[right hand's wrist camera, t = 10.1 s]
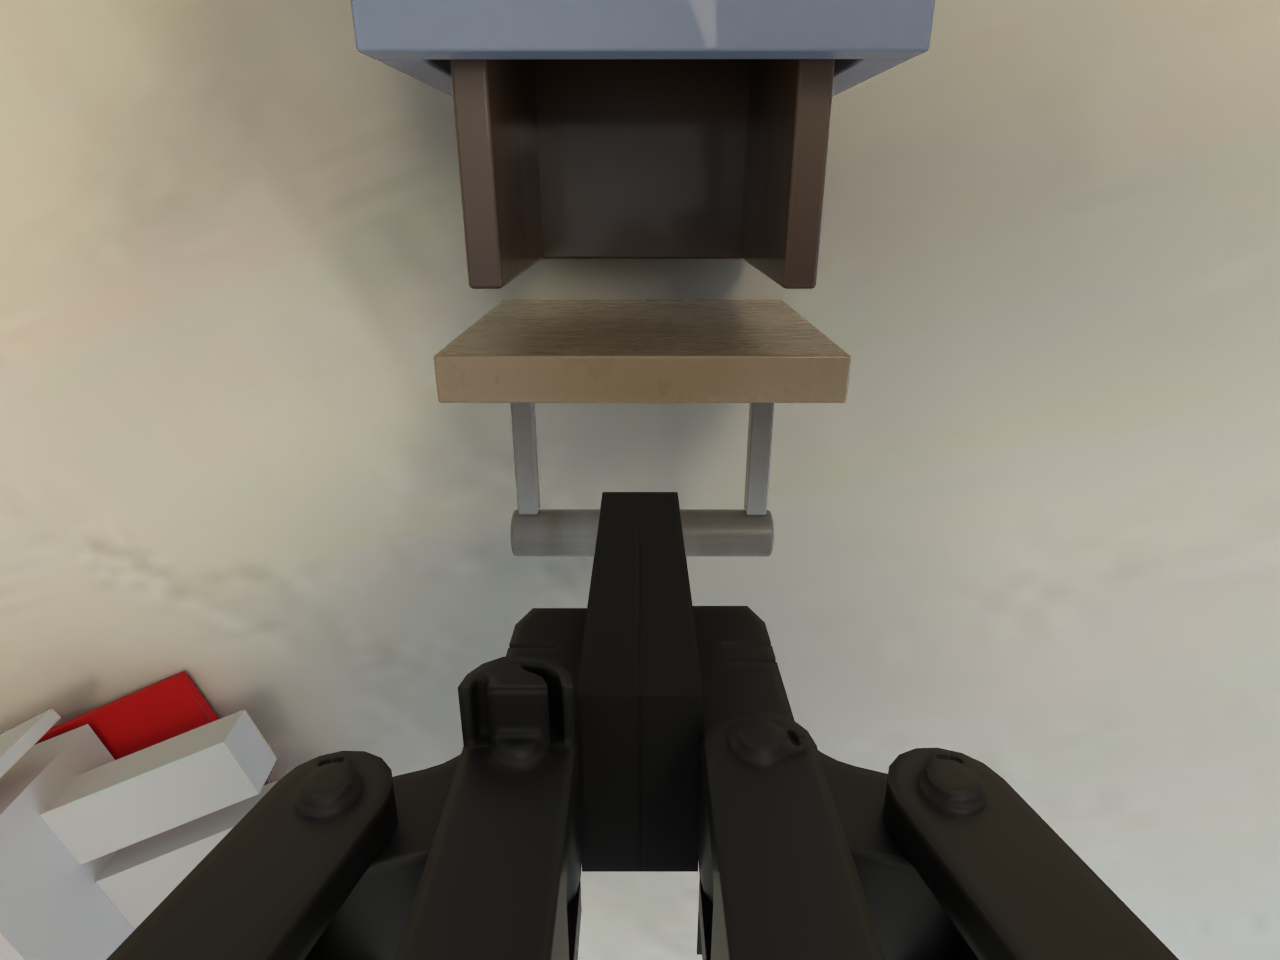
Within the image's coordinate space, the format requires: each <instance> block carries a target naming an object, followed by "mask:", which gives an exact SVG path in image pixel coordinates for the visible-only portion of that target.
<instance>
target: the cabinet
mask: <svg viewBox="0 0 1280 960" xmlns="http://www.w3.org/2000/svg"><path fill="white" fill-rule="evenodd" d="M934 4H935V0H351V7H352V15H353V23H354V31H355V39H356V47H357V50H358V51H359V52H361V53H363V54H365V55H367V56H369V57H372V58H374V59H377V60H379V61H381V62H383V63H385V64H387V65H389V66H391V67H393V68H395V69H397V70H399V71H402V72H404V73H406V74H408V75H410V76H412V77H414V78H416V79H418V80H420V81H422V82H424V83H426V84H428V85H430V86H432V87H435V88H437V89H439V90H441V91H443V92H445V93H447V94H449V95H451V96H453V88H452V76H451V64H450V59H835V66H834V78H833V90H832V96H834V95H836V94H838V93H840V92H842V91H844V90H846V89H849V88H851V87H853V86H855V85H857V84H859V83H861V82H863V81H865V80H867V79H869V78H871V77H873V76H875V75H877V74H880V73H882V72H884V71H886V70H888V69H890V68H892V67H894V66H896V65H898V64H900V63H902V62H904V61H906V60H908V59H911V58H913V57H915V56H917V55H919V54H921V53H923V52H925V51H927V50H928V49H929V44H930V36H931V28H932V20H933V12H934Z"/></svg>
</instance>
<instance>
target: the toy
mask: <svg viewBox="0 0 1280 960" xmlns="http://www.w3.org/2000/svg"><path fill="white" fill-rule="evenodd" d="M60 719H61V717H60V716H59V715H58V714H57V713H56V712H55V711H54V710H53V709H52V708H51V709H49V710H47V711H45V712H43V713H41V714H39V715H37V716H35V717H33V718H31V719H29V720H27V721H26V722H24V723H22V724H20V725H18V726H16V727H14V728H12V729H10V730H8V731H6V732H4V733H2V734H0V960H106V959H107V958H108V957H109V956H110V955H111V954H112V953H113V952H114V951H115V950H116V949H117V948H118V947H119V946H120V945H121V944H122V943H123V942H124V941H125V940H126V938H127V937H128V936H129V935H130V934H131V933H132V932H133V931H134V930H135V929H136V928H137V927H138V926H139V925H140V924H141V923H142V922H143V921H144V920H145V919H146V918H147V917H148V916H149V915H150V914H151V913H152V912H153V910H154V909H155V908H156V907H157V906H158V905H159V904H160V903H161V902H162V901H163V900H164V899H165V898H166V897H167V896H168V895H169V894H170V893H171V892H172V891H173V890H174V889H175V888H176V887H177V886H178V885H179V884H180V882H181V881H182V880H183V879H184V878H185V877H186V876H187V875H188V874H189V873H190V872H191V871H192V870H193V869H194V868H195V867H196V866H197V865H198V864H199V863H200V862H201V861H202V860H203V859H204V858H205V857H206V855H207V854H208V853H209V852H210V851H211V850H212V849H213V848H214V847H215V846H216V845H217V844H218V843H219V842H220V841H221V840H222V839H223V838H224V837H225V836H226V835H227V834H228V833H229V832H230V831H231V830H232V829H233V827H234V826H235V825H236V824H237V823H238V822H239V821H240V820H241V819H242V818H243V817H244V816H245V815H246V814H247V813H248V812H249V811H250V810H251V809H252V808H253V807H254V806H255V805H256V804H257V803H258V802H259V801H260V799H261V798H262V797H263V796H264V795H265V794H266V793H267V792H268V791H269V790H270V789H271V788H272V787H273V786H274V785H275V784H276V783H277V782H278V781H279V780H280V779H279V780H277V781H274V782H272V783H269V784H267V785H266V784H265V781H266V780H267V778H268V776H269V774H270V772H271V770H272V768H273V766H274V764H275V762H276V760H277V757H276V756H275V754H274V753H273V751H272V750H271V748H270V747H269V745H268V744H267V742H266V741H265V739H264V737H263V736H262V734H261V733H260V731H259V730H258V728H257V727H256V725H255V724H254V722H253V721H252V719H251V718H250V716H249V715H248V713H247V712H246V710H245V709H243V710H241V711H238V712H236V713H233V714H231V715H228V716H226V717H223V718H221V719H219V718H218V717H217V716H216V714H215V713H214V711H213V710H212V709H211V707H210V706H209V704H208V703H207V702H206V700H205V699H204V697H203V696H202V695H201V693H200V692H199V690H198V689H197V688H196V686H195V685H194V683H193V682H192V681H191V679H190V678H189V676H188V675H187V674H186V672H185V671H183V672H181V673H178V674H176V675H174V676H171V677H169V678H167V679H164V680H162V681H160V682H157V683H155V684H153V685H150V686H148V687H146V688H143V689H141V690H139V691H136V692H134V693H132V694H129V695H127V696H125V697H122V698H120V699H118V700H115V701H113V702H111V703H108V704H106V705H104V706H102V707H99V708H97V709H95V710H92V711H90V712H88V713H85V714H83V715H81V716H78V717H76V718H74V719H71V720H69V721H67V722H64V723H62V724H60V725H57V726H55V727H53V726H54V725H55V724H56V723H57V722H58V721H59V720H60ZM52 727H53V728H52Z"/></svg>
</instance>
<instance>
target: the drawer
mask: <svg viewBox="0 0 1280 960" xmlns="http://www.w3.org/2000/svg"><path fill="white" fill-rule="evenodd" d="M450 64H451V76H452V88H453V100H454V112H455V124H456V136H457V148H458V159H459V171H460V183H461V195H462V207H463V219H464V231H465V243H466V255H467V267H468V279H469V286H470V288H473V289H499V288H501V287H503V286H504V285H506V284H507V283H509V282H510V281H511V280H513V279H514V278H516V277H517V276H519V275H520V274H521V273H523V272H524V271H526V270H527V269H528V268H530V267H531V266H533V265H534V264H536V263H537V262H538V261H540V260H541V259H744V260H745V261H746V262H748V263H749V264H751V265H752V266H754V267H755V268H756V269H758V270H759V271H761V272H762V273H764V274H765V275H766V276H768V277H769V278H771V279H772V280H773V281H775V282H776V283H778V284H779V285H781V286H782V287H784V288H786V289H812V288H814V287H815V285H816V277H817V265H818V253H819V242H820V230H821V218H822V206H823V195H824V183H825V171H826V160H827V148H828V136H829V125H830V113H831V101H832V90H833V78H834V66H835V59H450ZM850 363H851V356H850V355H849V354H848V353H846V352H845V351H844V350H843V349H841V348H840V347H839V346H838V345H836V344H835V343H834V342H833V341H831V340H830V339H829V338H828V337H826V336H825V335H824V334H823V333H822V332H820V331H819V330H818V329H817V328H815V327H814V326H813V325H812V324H810V323H809V322H808V321H807V320H805V319H804V318H803V317H802V316H800V315H799V314H798V313H797V312H795V311H794V310H793V309H792V308H790V307H789V306H788V305H787V304H785V303H784V302H783V301H781V300H503V301H502V302H500V303H499V304H498V305H497V306H495V307H494V308H493V309H492V310H491V311H489V312H488V313H487V314H486V315H484V316H483V317H482V318H481V319H479V320H478V321H477V322H476V323H474V324H473V325H472V326H471V327H469V328H468V329H467V330H466V331H464V332H463V333H462V334H461V335H459V336H458V337H457V338H456V339H454V340H453V341H452V342H451V343H450V344H448V345H447V346H446V347H445V348H443V349H442V350H441V351H440V352H438V353H437V354H436V355H435V356H434V364H435V374H436V383H437V393H438V400H439V402H441V403H511V414H512V429H513V444H514V459H515V474H516V489H517V503H518V509H517V510H515V511H514V513H513V516H512V521H511V547H512V551H513V554H514V555H515V556H594V554H595V547H596V539H597V532H598V524H599V516H600V510H571V509H539V508H540V494H539V476H538V458H537V440H536V422H535V404H534V403H750V411H749V429H748V446H747V464H746V482H745V499H744V508H745V510H680V516H681V524H682V532H683V539H684V547H685V554H686V556H770V555H771V552H772V549H773V541H774V528H773V519H772V515H771V512H770V511H769V510H767V497H768V482H769V468H770V454H771V439H772V425H773V410H774V403H844V402H846V400H847V391H848V382H849V372H850Z"/></svg>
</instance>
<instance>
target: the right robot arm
mask: <svg viewBox="0 0 1280 960" xmlns="http://www.w3.org/2000/svg"><path fill="white" fill-rule="evenodd" d="M458 694H459V703H460V713H461V723H462V733H463V743H464V747H463V750H462V753H461V754H460V755H459V756H457V757H455V758H453V759H451V760H449V761H447V762H445V763H443V764H440V765H437V766H434V767H431V768H428V769H424V770H420V771H416V772H412V773H407V774H403V775H399V776H395V777H392V772H391V769H390V768H389V766H388V765H387V764H386V763H385V762H384V761H383V759H382V758H380V757H378V756H375V755H372V754H370V753H367V752H364V751H340V752H336V753H331V754H327V755H322V756H319V757H316V758H314V759H312V760H310V761H308V762H306V763H304V764H301V765H299V766H297V767H296V768H294V769H293V770H292V771H291V772H289V773H288V774H287V775H286V776H284V777H283V778H282V779H280V780H279V781H278V782H277V783H276V784H275V785H274V786H273V787H272V788H271V789H270V790H269V791H268V792H267V793H266V794H265V795H264V796H263V797H262V798H261V799H260V801H259V802H258V803H257V804H256V805H255V806H254V807H253V808H252V809H251V810H250V811H249V812H248V813H247V814H246V815H245V816H244V817H243V818H242V819H241V820H240V821H239V822H238V823H237V824H236V825H235V826H234V827H233V829H232V830H231V831H230V832H229V833H228V834H227V835H226V836H225V837H224V838H223V839H222V840H221V841H220V842H219V843H218V844H217V845H216V846H215V847H214V848H213V849H212V850H211V851H210V852H209V853H208V854H207V855H206V857H205V858H204V859H203V860H202V861H201V862H200V863H199V864H198V865H197V866H196V867H195V868H194V869H193V870H192V871H191V872H190V873H189V874H188V875H187V876H186V877H185V878H184V879H183V880H182V881H181V882H180V884H179V885H178V886H177V887H176V888H175V889H174V890H173V891H172V892H171V893H170V894H169V895H168V896H167V897H166V898H165V899H164V900H163V901H162V902H161V903H160V904H159V905H158V906H157V907H156V908H155V909H154V910H153V912H152V913H151V914H150V915H149V916H148V917H147V918H146V919H145V920H144V921H143V922H142V923H141V924H140V925H139V926H138V927H137V928H136V929H135V930H134V931H133V932H132V933H131V934H130V935H129V936H128V937H127V938H126V940H125V941H124V942H123V943H122V944H121V945H120V946H119V947H118V948H117V949H116V950H115V951H114V952H113V953H112V954H111V955H110V956H109V957H108V958H107V959H106V960H577V958H578V945H579V933H580V921H581V887H580V876H581V865H582V871H698V861H699V873H700V887H699V913H698V940H697V954H702V957H703V960H1179V959H1178V958H1177V957H1176V956H1175V955H1174V954H1173V953H1172V952H1171V951H1170V950H1169V949H1168V948H1167V947H1166V946H1165V945H1164V944H1163V943H1162V942H1161V941H1160V940H1159V939H1158V938H1157V937H1156V936H1155V935H1154V934H1153V933H1152V932H1151V930H1150V929H1149V928H1148V927H1147V926H1146V925H1145V924H1144V923H1143V922H1142V921H1141V920H1140V919H1139V918H1138V917H1137V916H1136V915H1135V914H1134V913H1133V912H1132V911H1131V910H1130V909H1129V908H1128V907H1127V906H1126V905H1125V904H1124V903H1123V902H1122V901H1121V900H1120V899H1119V898H1118V896H1117V895H1116V894H1115V893H1114V892H1113V891H1112V890H1111V889H1110V888H1109V887H1108V886H1107V885H1106V884H1105V883H1104V882H1103V881H1102V880H1101V879H1100V878H1099V877H1098V876H1097V875H1096V874H1095V873H1094V872H1093V871H1092V870H1091V869H1090V868H1089V867H1088V866H1087V865H1086V864H1085V862H1084V861H1083V860H1082V859H1081V858H1080V857H1079V856H1078V855H1077V854H1076V853H1075V852H1074V851H1073V850H1072V849H1071V848H1070V847H1069V846H1068V845H1067V844H1066V843H1065V842H1064V841H1063V840H1062V839H1061V838H1060V837H1059V836H1058V835H1057V834H1056V833H1055V832H1054V831H1053V830H1052V828H1051V827H1050V826H1049V825H1048V824H1047V823H1046V822H1045V821H1044V820H1043V819H1042V818H1041V817H1040V816H1039V815H1038V814H1037V813H1036V812H1035V811H1034V810H1033V809H1032V808H1031V807H1030V806H1029V805H1028V804H1027V803H1026V802H1025V801H1024V800H1023V799H1022V798H1021V797H1020V796H1019V794H1018V793H1017V792H1016V791H1015V790H1014V789H1013V788H1012V787H1011V786H1010V785H1009V784H1008V783H1007V782H1006V781H1005V780H1004V779H1003V778H1002V777H1000V776H999V775H998V774H997V773H995V772H994V771H993V770H991V769H990V768H989V767H988V766H986V765H985V764H984V763H982V762H979V761H977V760H975V759H973V758H971V757H969V756H966V755H964V754H962V753H959V752H954V751H950V750H945V749H941V748H916V749H913V750H911V751H908V752H905V753H903V754H900V755H899V756H898V757H897V758H896V759H895V760H894V762H893V763H892V764H891V765H890V766H889V772H888V774H885V773H881V772H877V771H872V770H868V769H864V768H860V767H855V766H852V765H849V764H846V763H843V762H839V761H837V760H835V759H833V758H831V757H829V756H827V755H825V754H823V753H821V752H820V751H818V749H817V746H816V744H815V743H814V741H813V739H812V738H811V736H810V734H809V733H808V731H807V730H805V729H804V728H803V727H801V726H800V725H799V724H797V723H796V722H795V721H794V718H793V715H792V711H791V708H790V705H789V701H788V698H787V695H786V692H785V688H784V685H783V682H782V678H781V675H780V672H779V668H778V665H777V662H776V661H775V655H774V652H773V648H772V646H771V642H770V639H769V635H768V632H767V629H766V625H765V623H764V622H763V621H762V620H761V619H760V618H759V617H758V616H757V615H756V614H755V613H754V612H753V611H752V610H751V609H750V608H749V607H747V606H692V600H691V592H690V585H689V577H688V569H687V562H686V554H685V547H684V539H683V532H682V524H681V516H680V509H679V501H678V494H677V492H603V494H602V501H601V509H600V516H599V524H598V532H597V539H596V547H595V554H594V562H593V569H592V577H591V585H590V592H589V600H588V607H587V608H533V609H532V610H531V611H530V612H529V613H528V614H527V615H526V616H524V617H523V618H522V619H521V620H520V621H519V622H518V623H517V624H516V625H515V628H514V631H513V635H512V638H511V641H510V648H508V651H507V655H506V657H501V658H499V659H496V660H493V661H490V662H487V663H484V664H482V665H480V666H479V667H477V668H476V669H474V670H473V671H471V672H470V673H469V674H467V675H466V677H465V678H464V680H463V681H462V682H461V684H460V685H459V687H458Z"/></svg>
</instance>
